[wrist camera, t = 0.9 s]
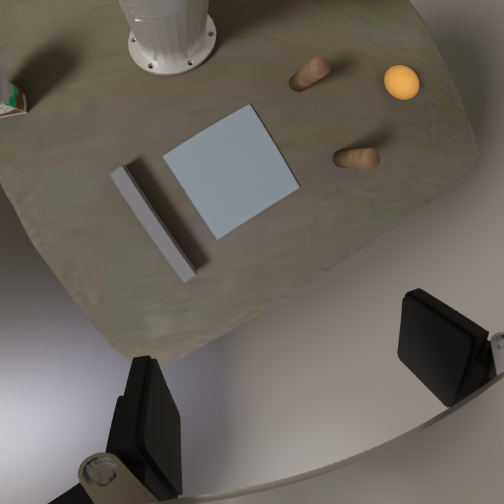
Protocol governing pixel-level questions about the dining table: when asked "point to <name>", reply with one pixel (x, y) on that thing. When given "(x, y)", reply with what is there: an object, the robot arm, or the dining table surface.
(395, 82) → the ball
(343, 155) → the post
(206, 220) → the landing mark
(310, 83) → the post
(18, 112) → the food container
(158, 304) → the dining table surface
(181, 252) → the wall
